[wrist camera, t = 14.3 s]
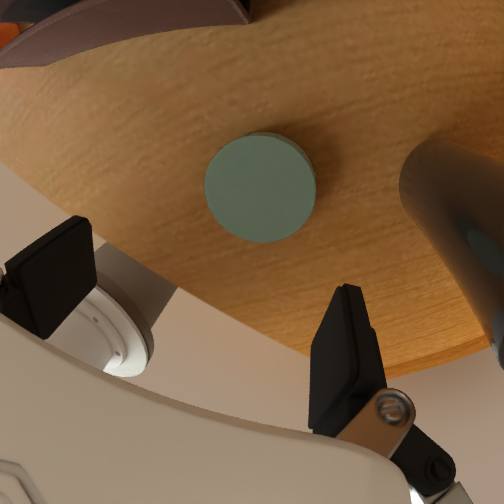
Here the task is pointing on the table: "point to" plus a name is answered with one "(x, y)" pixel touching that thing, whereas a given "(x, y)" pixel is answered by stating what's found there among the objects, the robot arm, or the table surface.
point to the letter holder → (104, 24)
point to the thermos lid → (261, 187)
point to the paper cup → (8, 33)
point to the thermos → (462, 223)
